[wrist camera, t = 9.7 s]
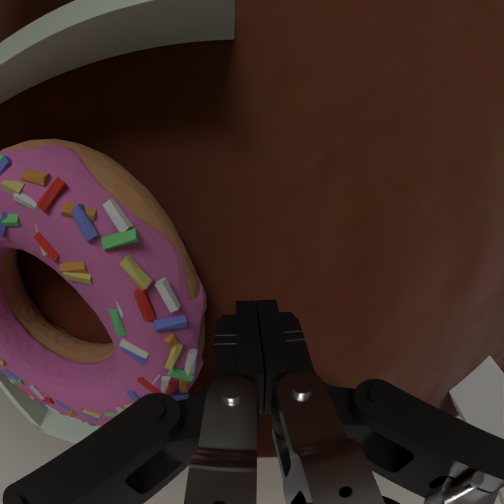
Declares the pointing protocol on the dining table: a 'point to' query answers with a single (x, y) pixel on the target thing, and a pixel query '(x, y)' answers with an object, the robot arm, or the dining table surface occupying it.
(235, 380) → the robot arm
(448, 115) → the dining table surface
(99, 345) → the donut
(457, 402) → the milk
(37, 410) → the box
